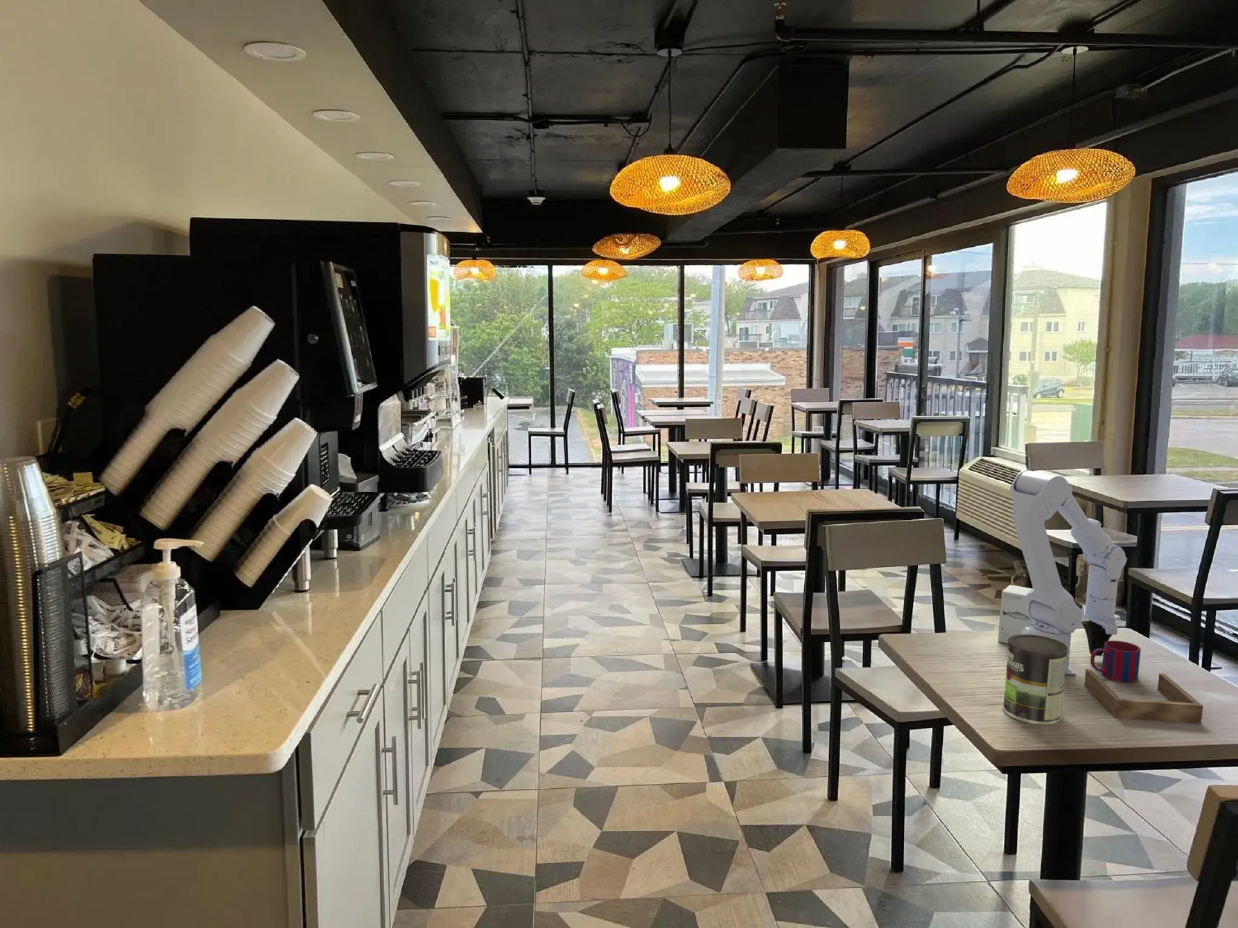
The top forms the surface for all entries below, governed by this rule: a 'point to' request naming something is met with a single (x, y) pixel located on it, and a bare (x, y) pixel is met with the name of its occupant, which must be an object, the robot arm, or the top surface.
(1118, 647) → the mug
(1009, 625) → the supplement box
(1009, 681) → the coffee can
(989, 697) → the top surface
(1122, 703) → the holder
